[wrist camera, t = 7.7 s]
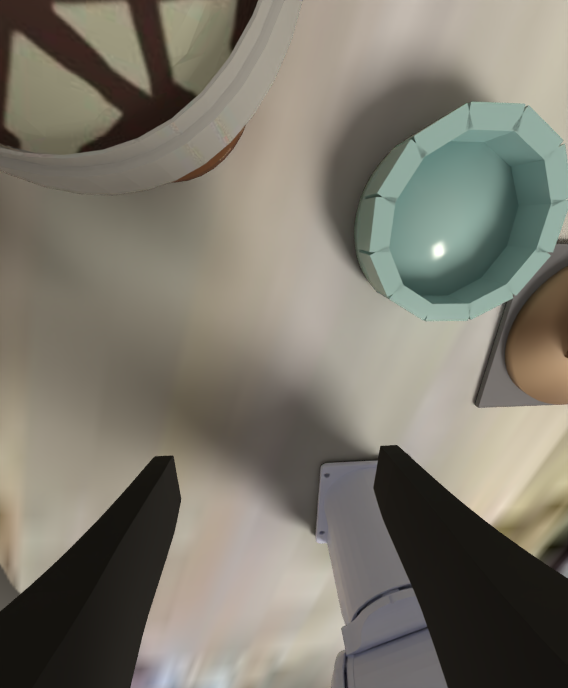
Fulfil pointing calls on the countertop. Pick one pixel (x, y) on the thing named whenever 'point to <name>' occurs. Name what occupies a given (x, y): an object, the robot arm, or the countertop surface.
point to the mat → (496, 378)
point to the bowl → (463, 211)
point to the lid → (541, 343)
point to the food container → (132, 87)
